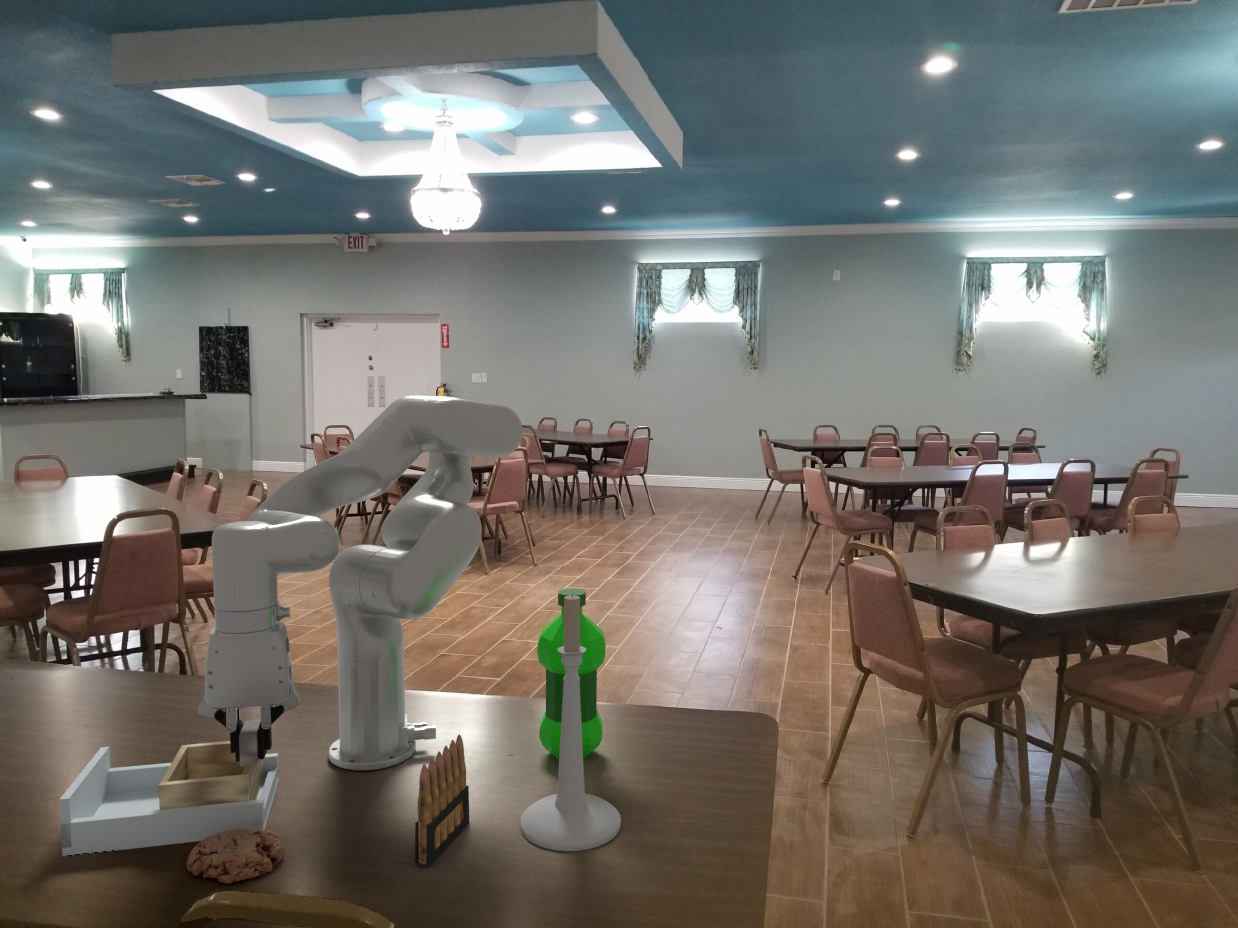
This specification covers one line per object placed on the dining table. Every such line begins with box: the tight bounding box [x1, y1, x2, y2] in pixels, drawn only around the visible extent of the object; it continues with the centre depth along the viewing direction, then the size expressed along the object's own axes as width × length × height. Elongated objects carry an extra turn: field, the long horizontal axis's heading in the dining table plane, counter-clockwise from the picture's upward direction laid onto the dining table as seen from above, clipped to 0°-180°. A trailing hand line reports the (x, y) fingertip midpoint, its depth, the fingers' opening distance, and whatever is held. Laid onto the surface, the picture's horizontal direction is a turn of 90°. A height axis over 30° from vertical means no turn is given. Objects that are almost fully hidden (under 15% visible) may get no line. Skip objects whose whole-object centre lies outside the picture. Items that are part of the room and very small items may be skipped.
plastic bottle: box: [536, 588, 607, 760], centre depth 129 cm, size 10×10×25 cm
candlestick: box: [519, 594, 622, 852], centre depth 108 cm, size 13×13×30 cm
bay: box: [58, 746, 280, 857], centre depth 110 cm, size 22×15×7 cm, turn 104°
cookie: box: [186, 829, 285, 885], centre depth 100 cm, size 10×11×3 cm
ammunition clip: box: [414, 734, 470, 869], centre depth 104 cm, size 11×2×12 cm, turn 164°
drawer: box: [159, 718, 263, 810], centre depth 111 cm, size 11×12×10 cm
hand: (251, 754), depth 112 cm, fingers closed on drawer, 2 cm apart
